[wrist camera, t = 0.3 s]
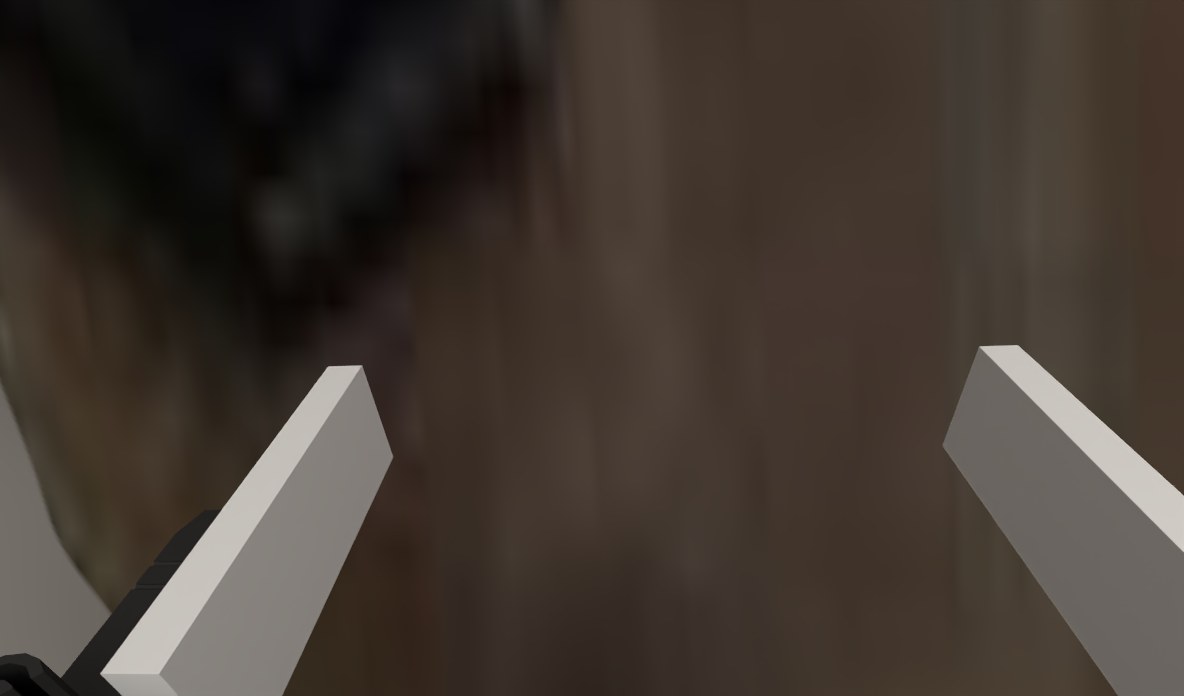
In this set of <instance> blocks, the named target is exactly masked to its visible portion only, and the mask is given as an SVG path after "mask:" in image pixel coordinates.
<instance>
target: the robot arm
mask: <svg viewBox="0 0 1184 696" xmlns="http://www.w3.org/2000/svg"><path fill="white" fill-rule="evenodd" d="M943 447H944V449H945V450H946V452H947V453H948V454H949V456H950V457H951V459H952V460H953V462H954V463H955V464H956V466H957V467H958V469H959V470H960V471H961V473H962V474H963V476H964V477H965V479H966V480H967V481H968V483H969V484H970V486H971V487H972V489H973V490H974V491H975V493H976V494H977V496H978V497H979V499H980V500H981V501H982V503H983V504H984V506H985V507H986V508H987V510H988V511H989V513H990V514H991V516H992V517H993V518H994V520H995V521H996V523H997V524H998V526H999V527H1000V528H1001V530H1002V531H1003V533H1004V534H1005V536H1006V537H1007V538H1008V540H1009V541H1010V543H1011V544H1012V545H1013V547H1014V548H1015V550H1016V551H1017V553H1018V554H1019V555H1020V557H1021V558H1022V560H1023V561H1024V563H1025V564H1026V565H1027V567H1028V568H1029V570H1030V571H1031V572H1032V574H1033V575H1034V577H1035V578H1036V580H1037V581H1038V582H1039V584H1040V585H1041V587H1042V588H1043V590H1044V591H1045V592H1046V594H1047V595H1048V597H1049V598H1050V600H1051V601H1052V602H1053V604H1054V605H1055V607H1056V608H1057V609H1058V611H1059V612H1060V614H1061V615H1062V617H1063V618H1064V619H1065V621H1066V622H1067V624H1068V625H1069V627H1070V628H1071V629H1072V631H1073V632H1074V634H1075V635H1076V637H1077V638H1078V639H1079V641H1080V642H1081V644H1082V645H1083V646H1084V648H1085V649H1086V651H1087V652H1088V654H1089V655H1090V656H1091V658H1092V659H1093V661H1094V662H1095V664H1096V665H1097V666H1098V668H1099V669H1100V671H1101V672H1102V674H1103V675H1104V676H1105V678H1106V679H1107V681H1108V682H1109V683H1110V685H1111V686H1112V688H1113V689H1114V691H1115V692H1116V693H1117V695H1118V696H1184V494H1181V493H1180V492H1179V491H1178V490H1177V489H1176V488H1175V487H1174V486H1172V485H1171V484H1170V483H1169V482H1168V481H1167V480H1166V479H1165V478H1164V477H1162V476H1161V475H1160V474H1159V473H1158V472H1157V471H1156V470H1155V469H1154V468H1153V467H1151V466H1150V465H1149V464H1148V463H1147V462H1146V461H1145V460H1144V459H1143V458H1142V457H1140V456H1139V455H1138V454H1137V453H1136V452H1135V451H1134V450H1133V449H1132V448H1130V447H1129V446H1128V445H1127V444H1126V443H1125V442H1124V441H1123V440H1122V439H1121V438H1119V437H1118V436H1117V435H1116V434H1115V433H1114V432H1113V431H1112V430H1111V429H1110V428H1108V427H1107V426H1106V425H1105V424H1104V423H1103V422H1102V421H1101V420H1100V419H1099V418H1097V417H1096V416H1095V415H1094V414H1093V413H1092V412H1091V411H1090V410H1089V409H1087V408H1086V407H1085V406H1084V405H1083V404H1082V403H1081V402H1080V401H1079V400H1078V399H1076V398H1075V397H1074V396H1073V395H1072V394H1071V393H1070V392H1069V391H1068V390H1067V389H1065V388H1064V387H1063V386H1062V385H1061V384H1060V383H1059V382H1058V381H1057V380H1055V379H1054V378H1053V377H1052V376H1051V375H1050V374H1049V373H1048V372H1047V371H1046V370H1044V369H1043V368H1042V367H1041V366H1040V365H1039V364H1038V363H1037V362H1036V361H1035V360H1033V359H1032V358H1031V357H1030V356H1029V355H1028V354H1027V353H1026V352H1025V351H1024V350H1022V349H1021V348H1020V347H1019V346H1018V345H1014V346H982V347H979V348H978V351H977V354H976V357H975V359H974V362H973V365H972V367H971V370H970V373H969V375H968V378H967V381H966V384H965V386H964V389H963V392H962V394H961V397H960V400H959V402H958V405H957V408H956V411H955V413H954V416H953V419H952V421H951V424H950V427H949V430H948V432H947V435H946V438H945V440H944V443H943ZM392 458H393V455H392V452H391V449H390V446H389V444H388V441H387V438H386V435H385V432H384V429H383V426H382V423H381V420H380V417H379V414H378V411H377V408H376V405H375V403H374V400H373V397H372V394H371V391H370V388H369V385H368V382H367V379H366V376H365V373H364V370H363V367H362V366H332V367H328V368H327V369H326V370H325V372H324V373H323V374H322V376H321V377H320V378H319V380H318V381H317V382H316V384H315V385H314V387H313V388H312V389H311V391H310V392H309V393H308V395H307V396H306V397H305V399H304V400H303V401H302V403H301V404H300V405H299V407H298V408H297V409H296V411H295V412H294V413H293V415H292V416H291V417H290V419H289V420H288V422H287V423H286V424H285V426H284V427H283V428H282V430H281V431H280V432H279V434H278V435H277V436H276V438H275V439H274V440H273V442H272V443H271V444H270V446H269V447H268V448H267V450H266V451H265V452H264V454H263V455H262V457H261V458H260V459H259V461H258V462H257V463H256V465H255V466H254V467H253V469H252V470H251V471H250V473H249V474H248V475H247V477H246V478H245V479H244V481H243V482H242V483H241V485H240V486H239V488H238V489H237V490H236V492H235V493H234V494H233V496H232V497H231V498H230V500H229V501H228V502H227V504H226V505H225V506H224V508H223V509H222V510H205V511H203V512H202V513H201V514H200V515H198V516H197V517H196V518H195V519H193V520H192V521H191V522H190V523H188V524H187V525H186V526H185V527H183V528H182V529H181V530H180V531H178V532H177V533H176V534H175V535H174V536H173V538H172V539H171V540H170V542H169V543H168V544H167V545H166V547H165V548H164V549H163V550H162V552H161V553H160V554H159V555H158V557H157V558H156V559H155V560H154V565H153V566H150V567H149V568H148V569H147V570H146V572H145V573H144V574H143V576H142V577H141V578H140V579H139V581H138V582H137V583H136V588H135V589H134V590H131V591H130V592H129V593H128V594H127V596H126V597H125V598H124V599H123V601H122V602H121V603H120V604H119V606H118V607H117V608H116V610H115V611H114V612H113V613H112V615H111V616H110V617H109V618H108V620H107V621H106V622H105V624H104V625H103V626H102V627H101V628H100V630H99V631H98V632H97V634H96V635H95V636H94V637H93V638H92V640H91V641H90V642H89V644H88V645H87V646H86V647H85V649H84V650H83V651H82V652H81V654H80V655H79V656H78V657H77V659H76V660H75V661H74V662H73V664H72V665H71V666H70V668H69V669H68V670H67V671H66V672H65V674H64V675H63V676H62V677H61V678H60V677H58V676H57V675H56V674H55V673H54V672H53V671H52V670H51V669H50V668H49V667H47V666H46V665H45V664H44V663H43V662H42V661H41V660H40V659H38V658H36V657H33V656H31V655H29V654H26V653H24V654H15V655H5V656H2V657H0V696H282V695H283V692H284V690H285V688H286V686H287V684H288V682H289V680H290V677H291V675H292V673H293V671H294V669H295V667H296V665H297V662H298V660H299V658H300V656H301V654H302V652H303V650H304V647H305V645H306V643H307V641H308V639H309V637H310V634H311V632H312V630H313V628H314V626H315V624H316V622H317V619H318V617H319V615H320V613H321V611H322V609H323V607H324V604H325V602H326V600H327V598H328V596H329V594H330V592H331V589H332V587H333V585H334V583H335V581H336V579H337V577H338V574H339V572H340V570H341V568H342V566H343V564H344V561H345V559H346V557H347V555H348V553H349V551H350V549H351V546H352V544H353V542H354V540H355V538H356V536H357V534H358V531H359V529H360V527H361V525H362V523H363V521H364V519H365V516H366V514H367V512H368V510H369V508H370V506H371V504H372V501H373V499H374V497H375V495H376V493H377V491H378V488H379V486H380V484H381V482H382V480H383V478H384V476H385V473H386V471H387V469H388V467H389V465H390V463H391V461H392Z"/></svg>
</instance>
